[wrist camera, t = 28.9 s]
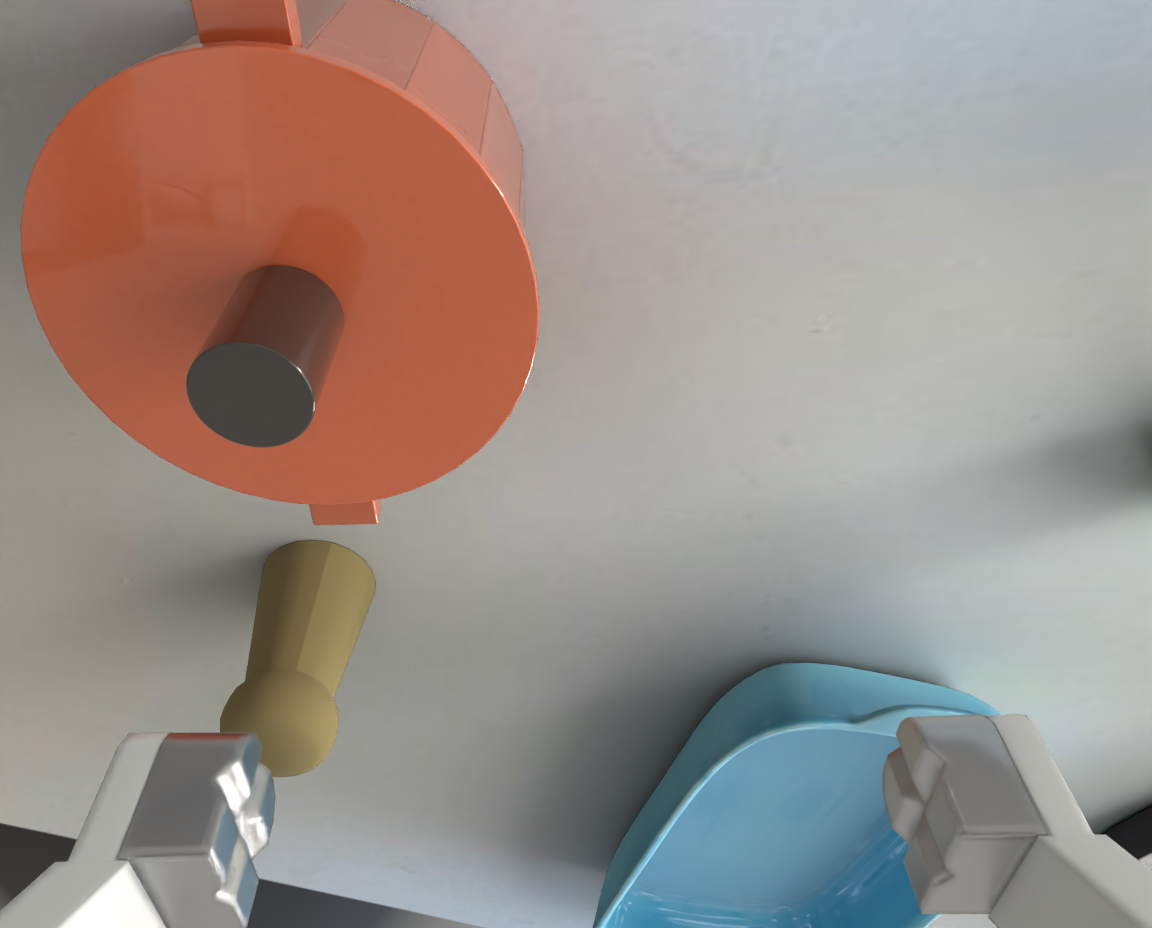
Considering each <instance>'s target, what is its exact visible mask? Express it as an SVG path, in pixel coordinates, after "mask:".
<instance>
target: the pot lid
mask: <svg viewBox="0 0 1152 928" xmlns="http://www.w3.org/2000/svg"><path fill="white" fill-rule="evenodd" d="M21 247H22V261H23V266H24V272H25V277H26V282H27V288H28V291H29V294H30V297H31V300H32V303H33V306H34V309H35V312H36V315H37V318H38V320H39V322H40V324H41V326H42V328H43V330H44V332H45V334H46V336H47V339H48V341H49V343H50V345H51V347H52V348H53V350H54V351H55V353H56V354H57V356H58V358H59V359H60V361H61V362H62V364H63V365H64V367H65V369H66V370H67V372H68V373H69V374H70V376H71V377H72V378H73V379H74V381H75V382H76V383H77V384H78V386H79V387H80V388H81V389H82V391H83V392H84V393H85V394H86V395H87V397H88V398H89V399H90V400H91V401H92V402H93V403H94V404H95V405H96V406H97V407H98V408H99V409H100V410H101V411H102V412H103V413H104V414H105V415H106V416H107V417H108V418H109V419H110V420H111V421H112V422H113V423H115V424H116V425H117V426H118V427H120V428H121V429H122V430H123V431H124V432H126V433H127V434H128V435H129V436H131V437H132V438H133V439H134V440H135V441H137V442H138V443H140V444H141V445H143V446H144V447H146V448H147V449H149V450H150V451H152V452H153V453H155V454H156V455H158V456H159V457H161V458H163V459H164V460H166V461H168V462H170V463H172V464H174V465H175V466H177V467H179V468H181V469H183V470H185V471H187V472H188V473H191V474H193V475H195V476H198V477H200V478H202V479H205V480H207V481H209V482H212V483H214V484H216V485H219V486H222V487H226V488H229V489H232V490H235V491H238V492H241V493H244V494H248V495H253V496H257V497H261V498H266V499H270V500H276V501H283V502H291V503H299V504H321V505H335V504H349V503H360V502H366V501H372V500H377V499H383V498H387V497H391V496H394V495H398V494H401V493H404V492H408V491H411V490H413V489H416V488H418V487H421V486H423V485H425V484H428V483H430V482H432V481H435V480H437V479H438V478H440V477H442V476H443V475H445V474H447V473H449V472H450V471H452V470H454V469H456V468H457V467H459V466H460V465H461V464H463V463H464V462H465V461H466V460H468V459H469V458H470V457H472V456H473V455H474V454H476V453H477V452H478V451H479V450H480V449H481V448H482V447H483V446H484V445H485V444H486V443H487V442H488V441H489V440H490V439H491V438H492V437H493V436H494V435H495V434H496V433H497V431H498V430H499V429H500V427H501V426H502V425H503V423H504V422H505V421H506V419H507V418H508V417H509V415H510V414H511V412H512V411H513V409H514V407H515V405H516V403H517V401H518V400H519V398H520V396H521V394H522V392H523V390H524V387H525V385H526V382H527V379H528V376H529V374H530V371H531V368H532V365H533V360H534V355H535V350H536V345H537V340H538V324H539V296H538V286H537V276H536V270H535V266H534V262H533V258H532V254H531V250H530V246H529V242H528V240H527V237H526V235H525V232H524V229H523V227H522V224H521V222H520V219H519V217H518V214H517V212H516V210H515V208H514V207H513V205H512V203H511V201H510V199H509V198H508V196H507V194H506V192H505V190H504V189H503V187H502V185H501V183H500V182H499V180H498V179H497V178H496V176H495V175H494V174H493V172H492V171H491V170H490V168H489V167H488V165H487V164H486V163H485V161H484V160H483V159H482V157H481V156H480V155H479V153H478V152H477V151H476V150H475V149H474V148H473V147H472V146H471V145H470V144H469V143H468V142H467V141H466V140H465V139H464V138H463V136H462V135H461V134H460V133H459V132H458V131H457V130H456V129H455V128H454V127H453V126H452V125H450V124H449V123H448V122H447V121H446V120H444V119H443V118H442V117H441V116H440V115H438V114H437V113H436V112H435V111H434V110H432V109H431V108H430V107H429V106H428V105H426V104H425V103H424V102H422V101H421V100H419V99H418V98H416V97H415V96H413V95H411V94H410V93H408V92H407V91H405V90H404V89H402V88H401V87H399V86H398V85H396V84H394V83H393V82H391V81H389V80H387V79H385V78H383V77H381V76H379V75H377V74H375V73H373V72H371V71H369V70H367V69H364V68H362V67H360V66H358V65H356V64H354V63H351V62H348V61H345V60H342V59H339V58H336V57H333V56H330V55H327V54H324V53H321V52H318V51H315V50H310V49H305V48H300V47H295V46H290V45H285V44H280V43H270V42H254V41H239V40H237V41H224V42H211V43H199V44H195V45H190V46H186V47H182V48H177V49H173V50H169V51H164V52H161V53H159V54H156V55H154V56H152V57H149V58H147V59H144V60H142V61H139V62H137V63H134V64H132V65H130V66H128V67H126V68H125V69H123V70H122V71H120V72H118V73H117V74H115V75H113V76H112V77H110V78H108V79H107V80H105V81H104V82H102V83H100V84H99V85H98V86H96V87H95V88H93V89H92V90H91V91H90V92H89V93H88V94H87V95H85V96H84V97H83V98H82V99H81V100H80V101H79V102H78V103H76V104H75V105H74V106H73V107H72V108H71V109H70V110H69V111H68V112H67V113H66V115H65V116H64V117H63V118H62V120H61V121H60V122H59V123H58V125H57V126H56V127H55V129H54V130H53V131H52V132H51V134H50V135H49V137H48V138H47V140H46V142H45V144H44V146H43V148H42V150H41V152H40V154H39V156H38V158H37V160H36V161H35V163H34V166H33V169H32V173H31V176H30V179H29V182H28V185H27V189H26V192H25V197H24V204H23V212H22V220H21Z"/></svg>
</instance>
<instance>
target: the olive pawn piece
mask: <svg viewBox="0 0 1152 928" xmlns="http://www.w3.org/2000/svg"><path fill="white" fill-rule="evenodd" d="M375 586H376V581H375V578H374V575H373V572H372V570H371V568H370V567H369V566H368V565H367V563H366V562H365V561H364V560H363V559H362V558H361V557H360V556H358V555H357V554H355V553H354V552H352V551H351V550H349V549H347V548H345V547H342V546H339V545H337V544H334V543H331V542H324V541H316V540H309V541H298V542H293V543H291V544H288V545H285V546H283V547H280V548H279V549H277V550H276V551H275V552H274V553H272V554H271V555H270V556H269V557H268V559H267V561H266V563H265V565H264V567H263V570H262V576H261V583H260V589H259V596H258V602H257V608H256V615H255V621H254V628H253V634H252V640H251V647H250V653H249V660H248V666H247V672H246V679H245V682H244V683H242V684H241V685H240V686H238V687H237V688H236V689H235V691H234V692H233V693H232V695H231V696H230V698H229V700H228V701H227V703H226V705H225V707H224V710H223V712H222V715H221V718H220V733H223V732H256V733H257V735H258V737H259V740H260V742H261V745H262V747H263V749H262V752H261V756H260V760H259V762H260V763H261V764H263V765H264V766H266V767H268V768H269V769H270V771H271V774H272V777H288V776H296V775H300V774H303V773H306V772H309V771H310V770H312V769H313V768H315V767H316V766H318V765H319V764H320V763H321V762H322V761H323V760H324V759H325V758H326V756H327V755H328V754H329V752H330V751H331V749H332V747H333V745H334V743H335V741H336V737H337V732H338V723H339V715H338V708H337V705H336V703H335V700H334V696H335V694H336V691H337V689H338V686H339V684H340V681H341V678H342V676H343V673H344V671H345V668H346V666H347V663H348V661H349V658H350V656H351V653H352V651H353V648H354V645H355V643H356V640H357V638H358V635H359V633H360V630H361V628H362V625H363V623H364V620H365V618H366V615H367V612H368V610H369V607H370V605H371V602H372V600H373V597H374V595H375Z"/></svg>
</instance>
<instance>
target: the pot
mask: <svg viewBox="0 0 1152 928" xmlns="http://www.w3.org/2000/svg"><path fill="white" fill-rule="evenodd" d="M190 1H191V5H192V10H193V14H194V18H195V22H196V27H197V31H198V33H197V34H195V35H194V36H193V37H191V38H190V39H188V40H187V41H186V42H184V43H183V44H182V45H180V46H179V47H177V48H182V47H186V46H190V45H195V44H199V43H211V42H224V41H237V40H239V41H254V42H270V43H280V44H285V45H290V46H295V47H300V48H305V49H310V50H315V51H318V52H321V53H324V54H327V55H330V56H333V57H336V58H339V59H342V60H345V61H348V62H351V63H354V64H356V65H358V66H360V67H362V68H364V69H367V70H369V71H371V72H373V73H375V74H377V75H379V76H381V77H383V78H385V79H387V80H389V81H391V82H393V83H394V84H396V85H398V86H399V87H401V88H402V89H404V90H405V91H407V92H408V93H410V94H411V95H413V96H415V97H416V98H418V99H419V100H421V101H422V102H424V103H425V104H426V105H428V106H429V107H430V108H431V109H432V110H434V111H435V112H436V113H437V114H438V115H440V116H441V117H442V118H443V119H444V120H446V121H447V122H448V123H449V124H450V125H452V126H453V127H454V128H455V129H456V130H457V131H458V132H459V133H460V134H461V135H462V136H463V138H464V139H465V140H466V141H467V142H468V143H469V144H470V145H471V146H472V147H473V148H474V149H475V150H476V151H477V152H478V153H479V155H480V156H481V157H482V159H483V160H484V161H485V163H486V164H487V165H488V167H489V168H490V170H491V171H492V172H493V174H494V175H495V176H496V178H497V179H498V180H499V182H500V183H501V185H502V187H503V189H504V190H505V192H506V194H507V196H508V198H509V199H510V201H511V203H512V205H513V207H514V208H515V210H516V212H517V214H518V217H519V219H520V222H521V224H522V227H523V229H524V230H525V199H524V170H523V149H522V145H521V143H520V140H519V138H518V136H517V132H516V130H515V127H514V124H513V122H512V119H511V116H510V114H509V111H508V109H507V107H506V105H505V103H504V101H503V99H502V97H501V95H500V93H499V91H498V89H497V88H496V86H495V84H494V82H493V80H492V79H491V77H490V76H489V75H488V74H487V73H486V72H485V70H484V69H483V67H482V66H481V65H480V64H479V63H478V61H477V60H476V59H475V58H474V57H473V56H472V55H471V54H470V52H469V51H468V50H467V49H466V48H465V47H464V46H463V45H462V44H461V43H460V42H458V41H457V40H456V39H455V38H454V37H453V36H452V35H451V34H449V33H448V32H447V31H446V30H445V29H443V28H442V27H441V26H439V25H438V24H437V23H435V22H434V21H433V20H431V19H429V18H427V17H426V16H424V15H423V14H421V13H419V12H417V11H415V10H413V9H411V8H409V7H408V6H406V5H404V4H402V3H400V2H397V1H395V0H190ZM177 48H176V49H177ZM309 507H310V511H311V516H312V520H313V524H314V525H346V524H377V523H378V520H379V516H380V511H381V502H380V499H377V500H372V501H366V502H360V503H349V504H335V505H321V504H309Z"/></svg>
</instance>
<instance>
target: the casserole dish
mask: <svg viewBox="0 0 1152 928" xmlns="http://www.w3.org/2000/svg"><path fill="white" fill-rule="evenodd" d="M973 714H981V715H982V716H983V715H1001V714H1000V713H999V712H997V711H996V710H995V709H994V708H992V707H991V706H990V705H988V704H986V703H985V702H983V701H981V700H980V699H978V698H976V697H974V696H972V695H970V694H967V693H964V692H961V691H958V690H954V689H951V688H947V687H943V686H939V685H934V684H930V683H925V682H920V681H916V680H911V679H906V678H901V677H896V676H891V675H886V674H881V673H876V672H871V671H866V670H860V669H855V668H850V667H845V666H838V665H829V664H818V663H785V664H778V665H774V666H770V667H767V668H764V669H762V670H759V671H757V672H756V673H754V674H753V675H751V676H750V677H748V678H746V679H744V680H743V681H742V682H740V683H739V684H737V685H736V686H735V687H733V688H732V689H731V690H730V691H729V692H727V693H726V694H725V695H724V696H723V697H722V698H721V699H720V700H719V701H718V702H717V703H716V704H715V705H714V706H713V707H712V709H711V710H710V711H709V712H708V713H707V714H706V716H705V717H704V718H703V720H702V721H701V722H700V724H699V725H698V726H697V728H696V729H695V730H694V732H693V733H692V735H691V736H690V738H689V739H688V741H687V742H686V744H685V745H684V747H683V748H682V750H681V751H680V753H679V754H678V756H677V757H676V759H675V760H674V762H673V763H672V765H671V766H670V768H669V769H668V771H667V772H666V774H665V776H664V777H663V779H662V780H661V782H660V783H659V785H658V786H657V788H656V789H655V791H654V792H653V794H652V795H651V796H650V798H649V799H648V801H647V802H646V804H645V805H644V807H643V808H642V810H641V811H640V813H639V814H638V816H637V817H636V819H635V820H634V822H633V823H632V825H631V826H630V828H629V830H628V831H627V833H626V834H625V836H624V838H623V839H622V841H621V843H620V845H619V847H618V849H617V851H616V852H615V854H614V857H613V859H612V861H611V864H610V866H609V869H608V872H607V875H606V878H605V881H604V884H603V888H602V892H601V895H600V899H599V903H598V908H597V912H596V916H595V921H594V925H593V928H925V927H927V926H928V925H929V924H930V923H931V922H932V921H934V920H935V919H936V918H937V917H938V916H939V915H941V914H921V912H920V909H919V906H918V903H917V900H916V897H915V894H914V891H913V889H912V886H911V883H910V880H909V877H908V874H907V871H906V868H905V865H904V863H903V861H904V859H905V856H906V853H907V850H908V848H909V845H910V844H909V843H908V842H906V841H905V840H904V839H903V838H902V837H901V836H900V835H899V834H898V833H897V832H896V831H895V830H894V829H892V827H891V824H890V821H889V818H888V814H887V811H886V808H885V803H884V797H883V792H882V771H883V768H884V765H885V761H886V758H887V755H888V754H890V753H891V752H892V751H894V750H895V749H897V748H898V747H900V744H899V742H898V739H897V736H896V732H897V729H898V727H899V724H900V722H901V721H902V720H904V719H905V718H907V717H921V716H947V715H973Z"/></svg>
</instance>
